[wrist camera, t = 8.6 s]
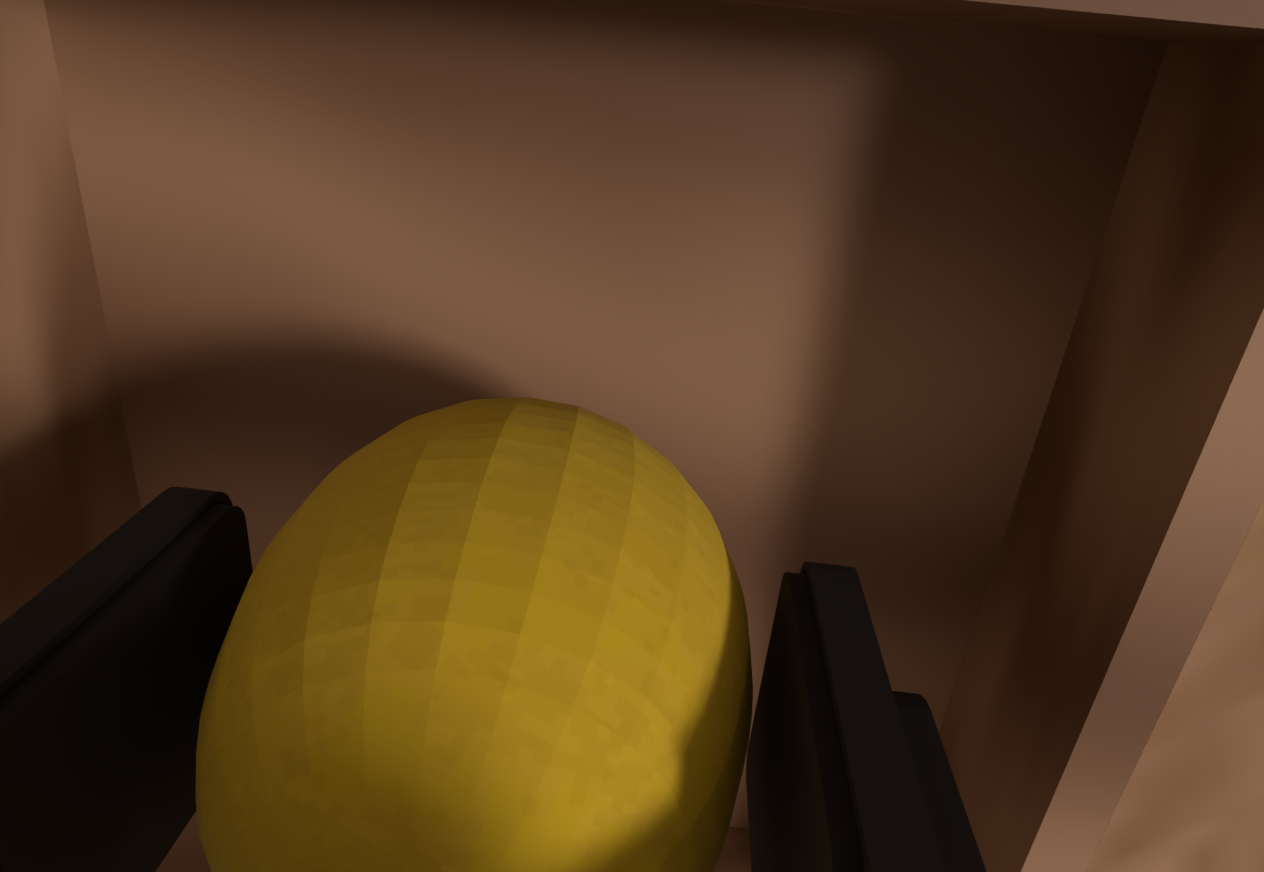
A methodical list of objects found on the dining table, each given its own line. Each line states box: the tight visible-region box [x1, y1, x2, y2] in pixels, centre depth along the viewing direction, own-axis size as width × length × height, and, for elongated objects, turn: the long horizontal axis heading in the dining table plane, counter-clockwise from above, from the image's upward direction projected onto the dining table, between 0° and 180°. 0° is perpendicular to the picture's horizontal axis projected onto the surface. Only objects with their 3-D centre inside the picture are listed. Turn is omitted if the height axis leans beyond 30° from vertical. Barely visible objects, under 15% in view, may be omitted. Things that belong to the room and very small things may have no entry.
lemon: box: [196, 397, 753, 872], centre depth 9 cm, size 6×6×8 cm
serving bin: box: [0, 0, 1264, 872], centre depth 12 cm, size 16×16×4 cm
